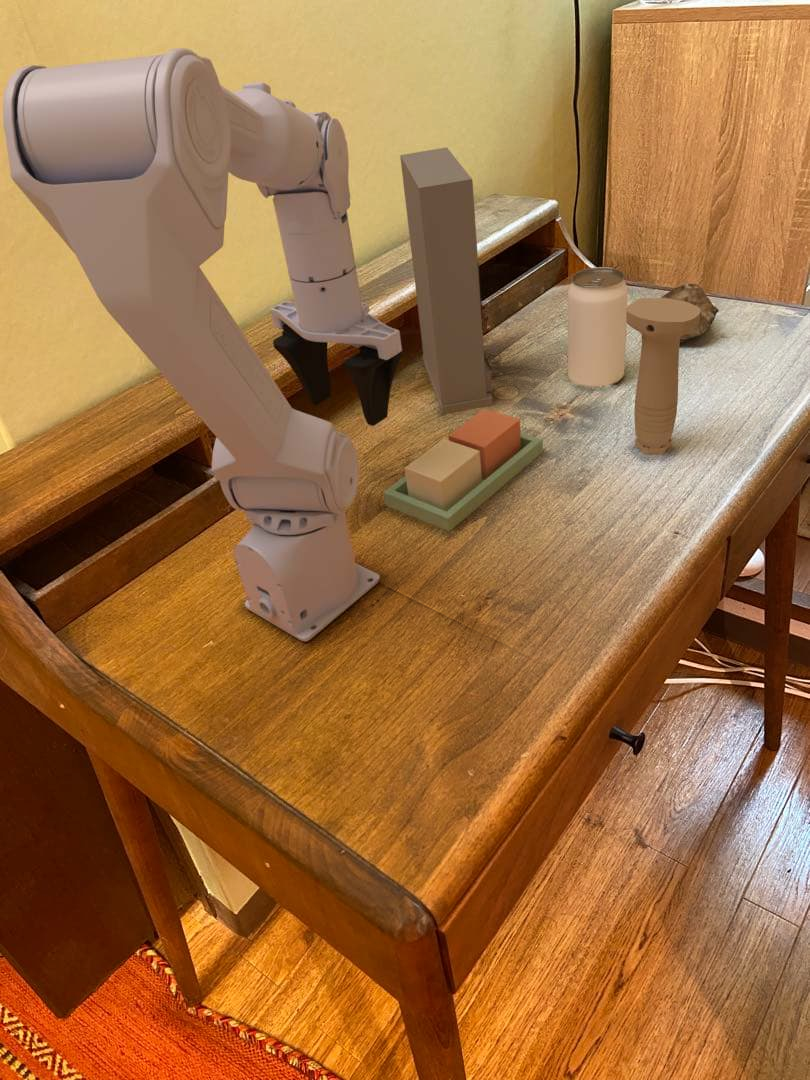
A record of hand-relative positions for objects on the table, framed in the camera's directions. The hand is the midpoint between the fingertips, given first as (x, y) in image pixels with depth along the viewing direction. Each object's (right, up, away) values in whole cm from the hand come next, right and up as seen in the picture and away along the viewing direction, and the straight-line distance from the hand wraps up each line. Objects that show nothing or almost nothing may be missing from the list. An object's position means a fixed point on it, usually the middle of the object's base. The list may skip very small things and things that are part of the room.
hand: (348, 410), depth 78 cm
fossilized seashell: (+40, +14, +25) cm, 49 cm away
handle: (+30, -3, +5) cm, 31 cm away
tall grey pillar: (+12, +6, +21) cm, 25 cm away
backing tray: (+12, -6, +5) cm, 14 cm away
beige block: (+9, -8, +3) cm, 12 cm away
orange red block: (+14, -4, +6) cm, 16 cm away
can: (+28, +7, +19) cm, 34 cm away
